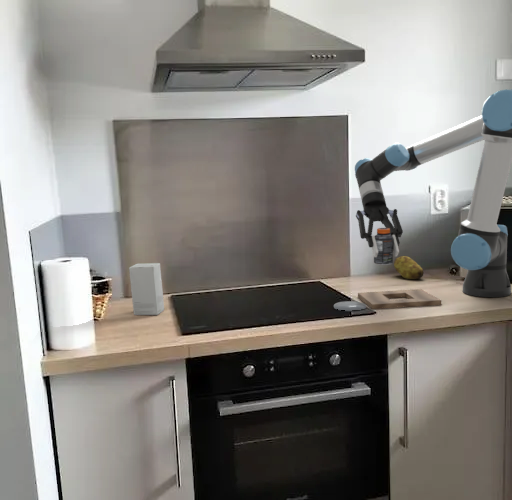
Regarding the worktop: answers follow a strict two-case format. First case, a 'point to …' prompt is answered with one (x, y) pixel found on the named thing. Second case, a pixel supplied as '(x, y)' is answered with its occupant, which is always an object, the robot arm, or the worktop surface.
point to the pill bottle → (384, 247)
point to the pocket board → (413, 299)
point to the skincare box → (146, 289)
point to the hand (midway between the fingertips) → (386, 254)
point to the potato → (408, 268)
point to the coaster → (349, 305)
